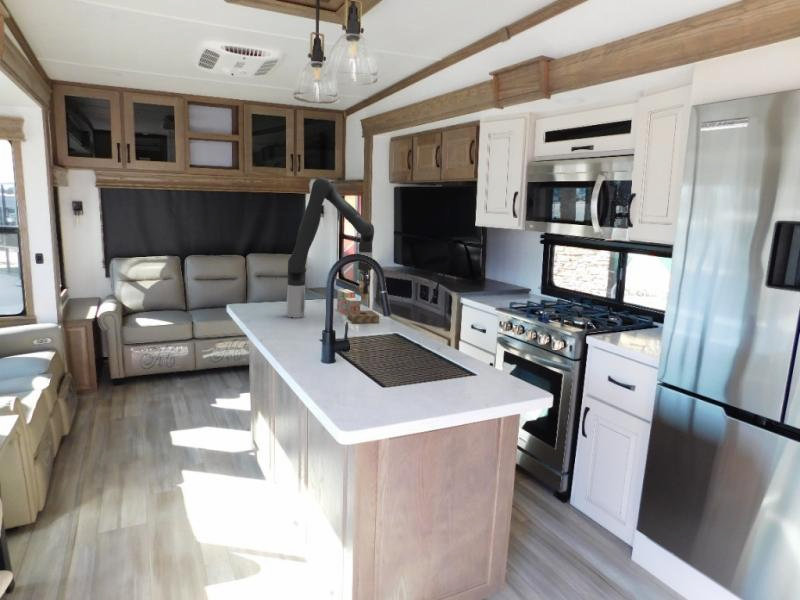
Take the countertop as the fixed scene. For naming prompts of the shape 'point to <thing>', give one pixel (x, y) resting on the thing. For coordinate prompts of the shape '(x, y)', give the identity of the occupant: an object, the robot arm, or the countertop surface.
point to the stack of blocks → (347, 301)
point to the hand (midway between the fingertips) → (364, 292)
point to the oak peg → (362, 291)
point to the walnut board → (363, 317)
